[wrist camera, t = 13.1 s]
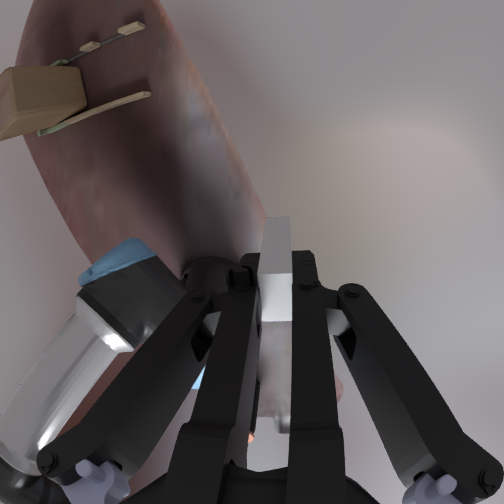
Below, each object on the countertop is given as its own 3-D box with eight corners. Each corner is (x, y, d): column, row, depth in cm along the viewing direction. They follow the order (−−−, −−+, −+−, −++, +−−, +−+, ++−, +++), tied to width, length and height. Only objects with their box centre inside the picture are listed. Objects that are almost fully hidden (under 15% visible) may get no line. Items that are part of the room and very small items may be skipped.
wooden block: (50, 88, 38) (-20, 98, 21) (81, 65, 36) (6, 65, 19) (59, 126, 43) (-13, 147, 25) (90, 106, 41) (13, 118, 23)
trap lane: (151, 96, 40) (137, 95, 35) (53, 132, 43) (38, 136, 39) (144, 24, 33) (131, 18, 28) (47, 72, 36) (32, 73, 32)
